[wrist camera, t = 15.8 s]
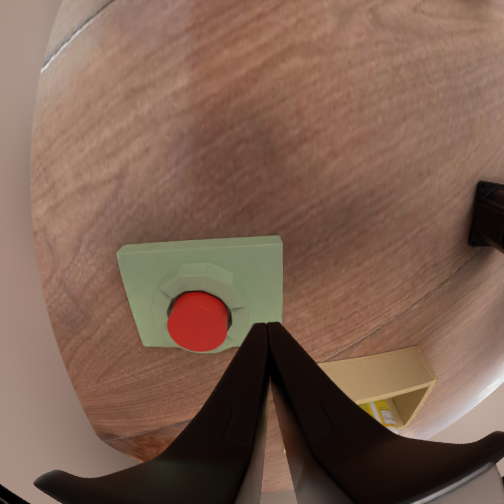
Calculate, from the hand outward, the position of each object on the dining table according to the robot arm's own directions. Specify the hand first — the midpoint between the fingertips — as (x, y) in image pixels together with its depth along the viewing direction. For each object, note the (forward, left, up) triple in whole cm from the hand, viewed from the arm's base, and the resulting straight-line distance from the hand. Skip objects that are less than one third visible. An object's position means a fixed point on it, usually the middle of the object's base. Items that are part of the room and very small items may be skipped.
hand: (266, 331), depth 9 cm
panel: (+4, +5, -12) cm, 14 cm away
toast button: (+4, +5, -9) cm, 11 cm away
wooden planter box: (-10, +19, -12) cm, 25 cm away
